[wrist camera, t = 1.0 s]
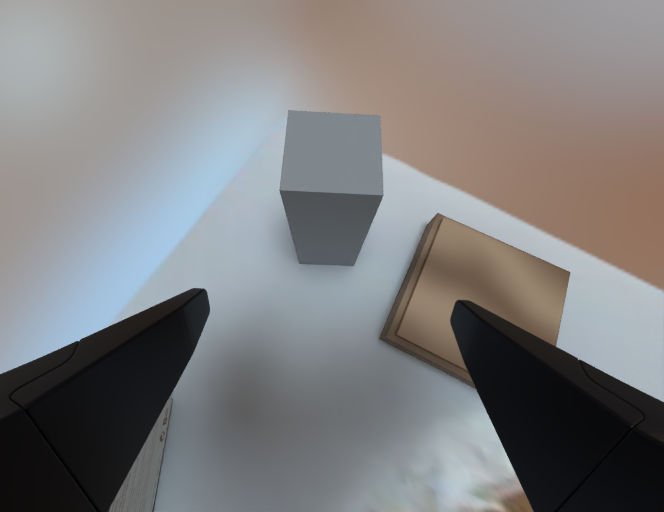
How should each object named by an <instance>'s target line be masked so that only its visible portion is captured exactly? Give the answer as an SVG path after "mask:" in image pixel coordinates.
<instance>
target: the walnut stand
mask: <svg viewBox="0 0 664 512" xmlns="http://www.w3.org/2000/svg"><path fill="white" fill-rule="evenodd" d="M569 276H570V272H569V271H566V270H564V269H562V268H560V267H557V266H555V265H553V264H551V263H549V262H546V261H544V260H542V259H540V258H537V257H535V256H533V255H531V254H528V253H526V252H524V251H522V250H519V249H517V248H515V247H513V246H510V245H508V244H506V243H504V242H502V241H499V240H497V239H495V238H493V237H490V236H488V235H486V234H484V233H481V232H479V231H477V230H475V229H472V228H470V227H468V226H466V225H463V224H461V223H459V222H457V221H455V220H452V219H450V218H448V217H446V216H443V215H441V214H439V213H437V214H436V215H435V217H434V218H433V219H432V220H431V221H430V222H429V223H428V224H427V227H426V229H425V231H424V234H423V236H422V238H421V241H420V243H419V246H418V248H417V250H416V253H415V255H414V257H413V260H412V262H411V265H410V267H409V269H408V272H407V274H406V276H405V279H404V281H403V284H402V286H401V288H400V291H399V293H398V296H397V298H396V300H395V303H394V305H393V307H392V310H391V312H390V315H389V317H388V319H387V322H386V324H385V326H384V329H383V331H382V334H381V336H380V339H382V340H384V341H386V342H388V343H390V344H392V345H393V346H395V347H397V348H399V349H401V350H403V351H405V352H407V353H409V354H411V355H413V356H415V357H417V358H418V359H420V360H422V361H424V362H426V363H428V364H430V365H432V366H434V367H436V368H438V369H440V370H442V371H444V372H445V373H447V374H449V375H451V376H453V377H455V378H457V379H459V380H461V381H463V382H465V383H467V384H469V385H471V386H472V387H474V388H476V387H475V385H474V383H473V381H472V379H471V377H470V375H469V372H468V370H467V368H466V366H465V364H464V361H463V359H462V356H461V353H460V350H459V347H458V344H457V342H456V339H455V336H454V333H453V330H452V327H451V324H450V317H451V314H452V311H453V307H454V304H455V302H456V301H457V300H470V301H472V302H474V303H475V304H477V305H479V306H481V307H483V308H485V309H487V310H488V311H490V312H492V313H494V314H496V315H498V316H500V317H502V318H503V319H505V320H507V321H509V322H511V323H513V324H515V325H516V326H518V327H520V328H522V329H524V330H526V331H528V332H530V333H531V334H533V335H535V336H537V337H539V338H541V339H543V340H544V341H546V342H548V343H550V344H552V345H554V346H556V343H557V338H558V333H559V327H560V322H561V317H562V312H563V307H564V302H565V297H566V292H567V287H568V282H569Z"/></svg>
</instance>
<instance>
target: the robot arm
mask: <svg viewBox="0 0 664 512" xmlns="http://www.w3.org/2000/svg"><path fill="white" fill-rule="evenodd" d="M209 313H210V306H209V300H208V295H207V291H206V290H205V289H201V288H193V289H190V290H188V291H186V292H184V293H181V294H179V295H177V296H175V297H173V298H171V299H168V300H166V301H164V302H162V303H160V304H157V305H155V306H153V307H151V308H149V309H146V310H144V311H142V312H140V313H138V314H135V315H133V316H131V317H129V318H127V319H124V320H122V321H120V322H118V323H116V324H113V325H111V326H109V327H107V328H105V329H103V330H100V331H98V332H96V333H94V334H92V335H90V336H87V337H85V338H83V339H81V340H80V341H76V342H74V343H72V344H70V345H68V346H65V347H63V348H61V349H58V350H56V351H54V352H52V353H50V354H47V355H45V356H43V357H40V358H38V359H36V360H33V361H31V362H29V363H26V364H24V365H22V366H19V367H17V368H14V369H12V370H10V371H7V372H5V373H2V374H0V512H108V510H109V509H110V507H111V505H112V503H113V501H114V499H115V497H116V496H117V494H118V492H119V490H120V488H121V486H122V484H123V483H124V481H125V479H126V477H127V475H128V473H129V471H130V470H131V468H132V466H133V464H134V462H135V460H136V458H137V457H138V455H139V453H140V451H141V449H142V447H143V445H144V444H145V442H146V440H147V438H148V436H149V434H150V432H151V431H152V429H153V427H154V425H155V423H156V421H157V420H158V418H159V416H160V414H161V412H162V410H163V408H164V407H165V405H166V403H167V401H168V399H169V397H170V395H171V394H172V392H173V390H174V388H175V386H176V384H177V382H178V381H179V379H180V377H181V375H182V373H183V371H184V369H185V368H186V366H187V364H188V362H189V360H190V358H191V356H192V354H193V352H194V350H195V348H196V346H197V343H198V341H199V338H200V336H201V333H202V331H203V328H204V326H205V323H206V321H207V318H208V316H209ZM450 324H451V327H452V330H453V333H454V336H455V339H456V342H457V344H458V347H459V350H460V353H461V356H462V359H463V361H464V364H465V366H466V368H467V370H468V372H469V375H470V377H471V379H472V381H473V383H474V385H475V387H476V390H477V392H478V394H479V396H480V398H481V400H482V402H483V405H484V407H485V409H486V411H487V413H488V415H489V417H490V420H491V422H492V424H493V426H494V428H495V430H496V432H497V434H498V437H499V439H500V441H501V443H502V445H503V447H504V449H505V452H506V454H507V456H508V458H509V460H510V462H511V464H512V467H513V469H514V471H515V473H516V475H517V477H518V479H519V481H520V484H521V486H522V488H523V490H524V492H525V494H526V496H527V499H528V501H529V503H530V505H531V507H532V509H533V511H534V512H664V402H662V401H660V400H658V399H656V398H654V397H652V396H650V395H648V394H646V393H644V392H642V391H640V390H638V389H636V388H634V387H632V386H630V385H628V384H626V383H624V382H622V381H620V380H618V379H616V378H614V377H612V376H610V375H608V374H606V373H604V372H603V371H601V370H599V369H597V368H595V367H593V366H591V365H589V364H587V363H586V362H584V361H582V360H578V358H576V357H574V356H572V355H571V354H569V353H567V352H565V351H563V350H561V349H559V348H557V347H556V346H554V345H552V344H550V343H548V342H546V341H544V340H543V339H541V338H539V337H537V336H535V335H533V334H531V333H530V332H528V331H526V330H524V329H522V328H520V327H518V326H516V325H515V324H513V323H511V322H509V321H507V320H505V319H503V318H502V317H500V316H498V315H496V314H494V313H492V312H490V311H488V310H487V309H485V308H483V307H481V306H479V305H477V304H475V303H474V302H472V301H470V300H457V301H456V302H455V304H454V307H453V311H452V314H451V317H450Z"/></svg>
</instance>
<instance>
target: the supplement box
mask: <svg viewBox="0 0 664 512" xmlns="http://www.w3.org/2000/svg"><path fill="white" fill-rule="evenodd" d="M171 404H172V399H168V401H167V403H166V405H165V407H164V408H163V410H162V412H161V414H160V416H159V418H158V420H157V421H156V423H155V425H154V427H153V429H152V431H151V432H150V434H149V436H148V438H147V440H146V442H145V444H144V445H143V447H142V449H141V451H140V453H139V455H138V457H137V458H136V460H135V462H134V464H133V466H132V468H131V470H130V471H129V473H128V475H127V477H126V479H125V481H124V483H123V484H122V486H121V488H120V490H119V492H118V494H117V496H116V497H115V499H114V501H113V503H112V505H111V507H110V509H109V510H108V512H152V509H153V505H154V500H155V495H156V490H157V483H158V479H159V473H160V467H161V461H162V456H163V450H164V445H165V439H166V434H167V428H168V422H169V416H170V411H171Z"/></svg>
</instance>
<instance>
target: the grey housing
mask: <svg viewBox="0 0 664 512" xmlns="http://www.w3.org/2000/svg"><path fill="white" fill-rule="evenodd" d="M280 194H281V197H282V201H283V205H284V208H285V212H286V216H287V219H288V223H289V227H290V230H291V234H292V238H293V241H294V245H295V249H296V252H297V256H298V260H299V263H300V264H321V265H345V266H354V264H355V262H356V259H357V257H358V254H359V252H360V250H361V247H362V245H363V243H364V240H365V238H366V235H367V233H368V231H369V228H370V226H371V224H372V221H373V219H374V216H375V214H376V212H377V209H378V207H379V205H380V202H381V200H382V197H383V172H382V146H381V121H380V116H378V115H359V114H342V113H326V112H307V111H290V110H289V111H288V119H287V128H286V137H285V146H284V155H283V164H282V173H281V182H280Z"/></svg>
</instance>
